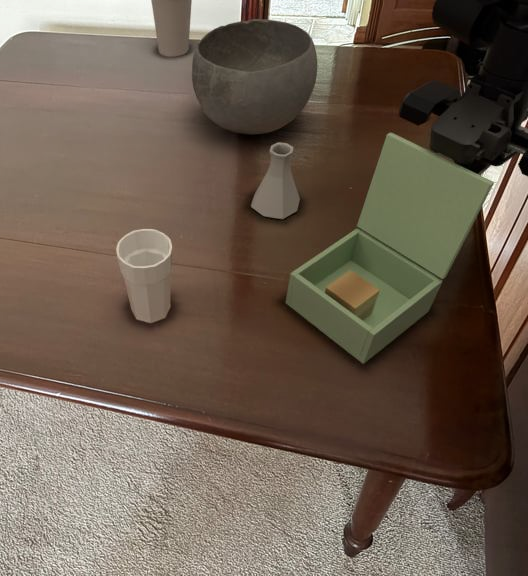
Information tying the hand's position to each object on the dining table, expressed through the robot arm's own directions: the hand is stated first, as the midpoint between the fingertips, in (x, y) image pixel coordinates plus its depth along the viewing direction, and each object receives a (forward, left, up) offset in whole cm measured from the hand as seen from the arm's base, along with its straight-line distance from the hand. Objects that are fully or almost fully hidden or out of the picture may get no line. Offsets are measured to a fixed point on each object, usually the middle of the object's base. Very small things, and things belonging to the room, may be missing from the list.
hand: (461, 189), depth 69 cm
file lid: (+1, +9, +2) cm, 9 cm away
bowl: (+41, -5, -11) cm, 42 cm away
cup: (+18, +35, -11) cm, 41 cm away
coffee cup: (+73, -13, -11) cm, 75 cm away
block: (+1, +17, -10) cm, 20 cm away
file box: (+1, +15, -11) cm, 19 cm away
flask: (+22, +8, -11) cm, 26 cm away
